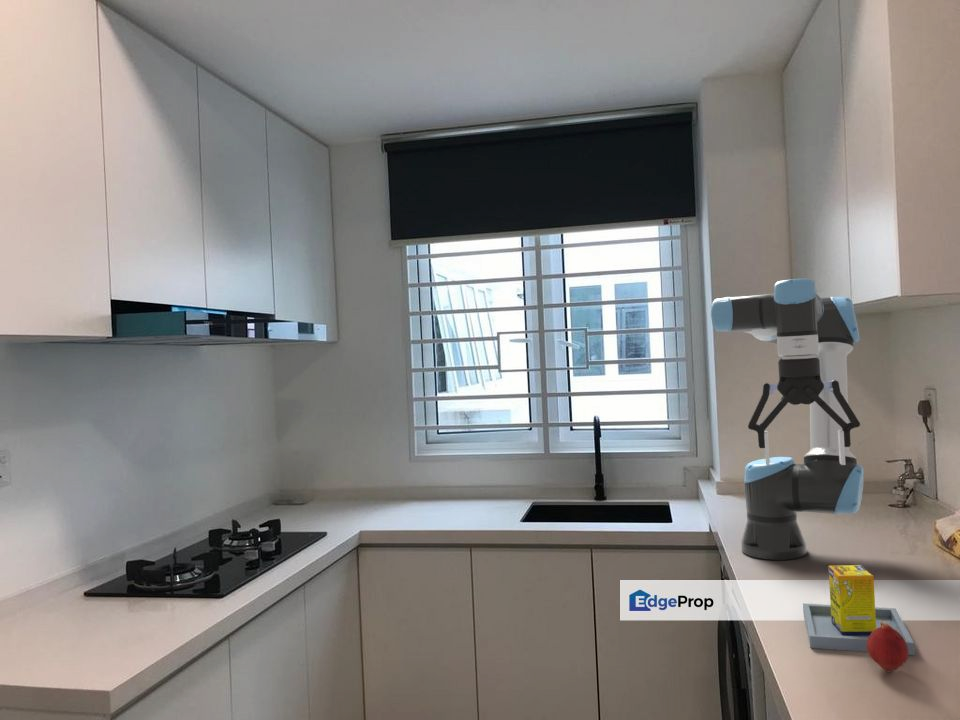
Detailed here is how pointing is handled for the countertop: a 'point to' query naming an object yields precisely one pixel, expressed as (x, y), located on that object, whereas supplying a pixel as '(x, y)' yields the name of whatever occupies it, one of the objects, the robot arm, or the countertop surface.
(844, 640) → the slate tray
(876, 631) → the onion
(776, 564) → the countertop surface
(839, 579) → the supplement box
